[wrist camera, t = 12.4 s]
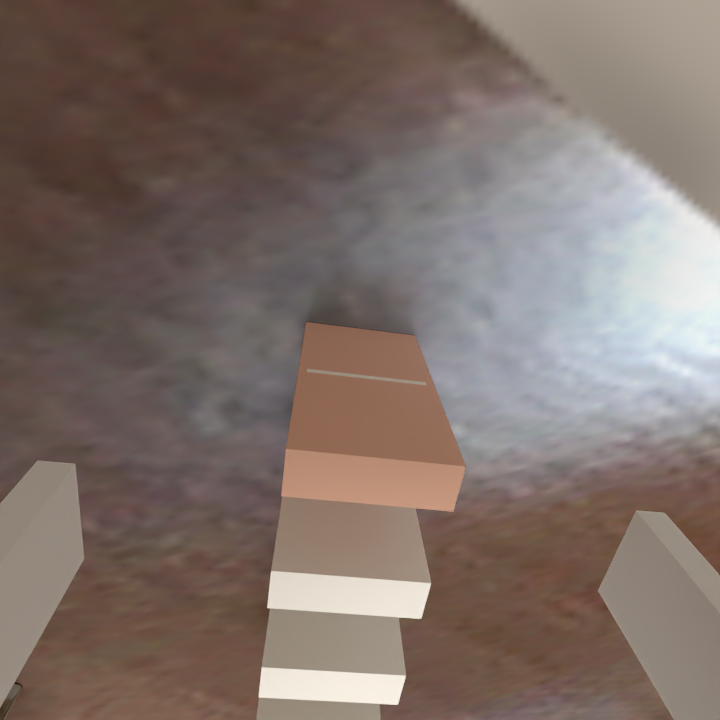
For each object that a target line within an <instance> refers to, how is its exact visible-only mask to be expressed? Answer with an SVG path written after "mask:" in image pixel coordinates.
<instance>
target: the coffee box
mask: <svg viewBox="0 0 720 720" xmlns="http://www.w3.org/2000/svg"><path fill="white" fill-rule="evenodd" d="M20 691H21V686H20V685H18V684H15V683H14V684H13V686H12V688H11V690H10V691H9V693H8V695H7V697H6V699H5V700H4V702H3V704H2V706H1V707H0V720H4V719H5V718H6V716H7V714H8V712H9V711H10V709H11V707H12V705H13V704H14V702H15V700H16V698H17V697H18V695H19V693H20Z"/></svg>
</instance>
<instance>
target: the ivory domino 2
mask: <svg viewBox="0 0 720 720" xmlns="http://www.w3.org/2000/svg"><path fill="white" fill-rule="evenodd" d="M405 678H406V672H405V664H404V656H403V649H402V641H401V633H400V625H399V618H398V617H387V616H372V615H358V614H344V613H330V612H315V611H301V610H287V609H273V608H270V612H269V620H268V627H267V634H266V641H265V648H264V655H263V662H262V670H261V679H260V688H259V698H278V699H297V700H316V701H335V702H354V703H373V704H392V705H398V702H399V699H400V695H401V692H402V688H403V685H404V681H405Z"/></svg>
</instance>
